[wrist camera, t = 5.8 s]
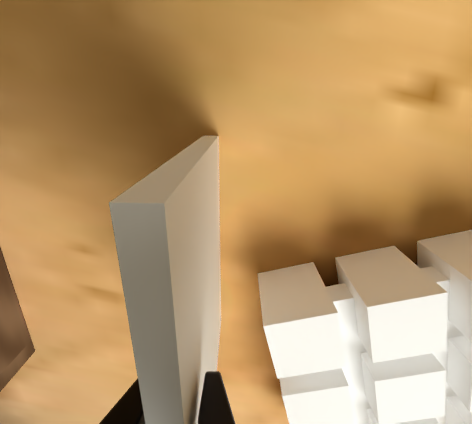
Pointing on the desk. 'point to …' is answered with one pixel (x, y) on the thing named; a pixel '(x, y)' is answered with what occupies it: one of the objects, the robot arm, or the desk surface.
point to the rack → (11, 330)
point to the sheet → (173, 279)
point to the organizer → (375, 336)
